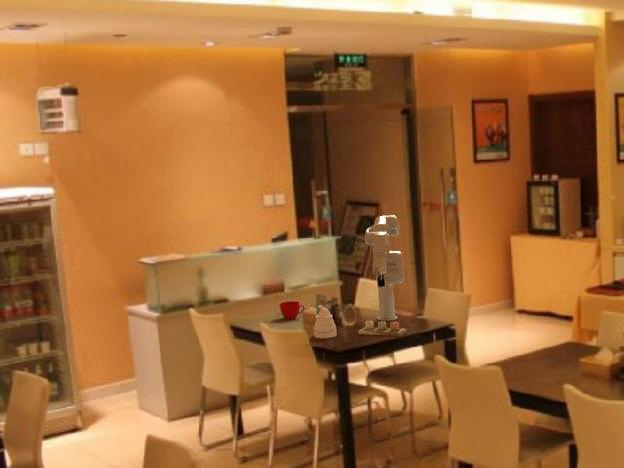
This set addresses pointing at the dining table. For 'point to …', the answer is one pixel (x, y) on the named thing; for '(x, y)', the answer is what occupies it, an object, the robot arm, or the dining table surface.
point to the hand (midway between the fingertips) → (381, 286)
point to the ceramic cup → (290, 309)
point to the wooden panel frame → (382, 331)
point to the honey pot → (324, 324)
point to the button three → (394, 326)
